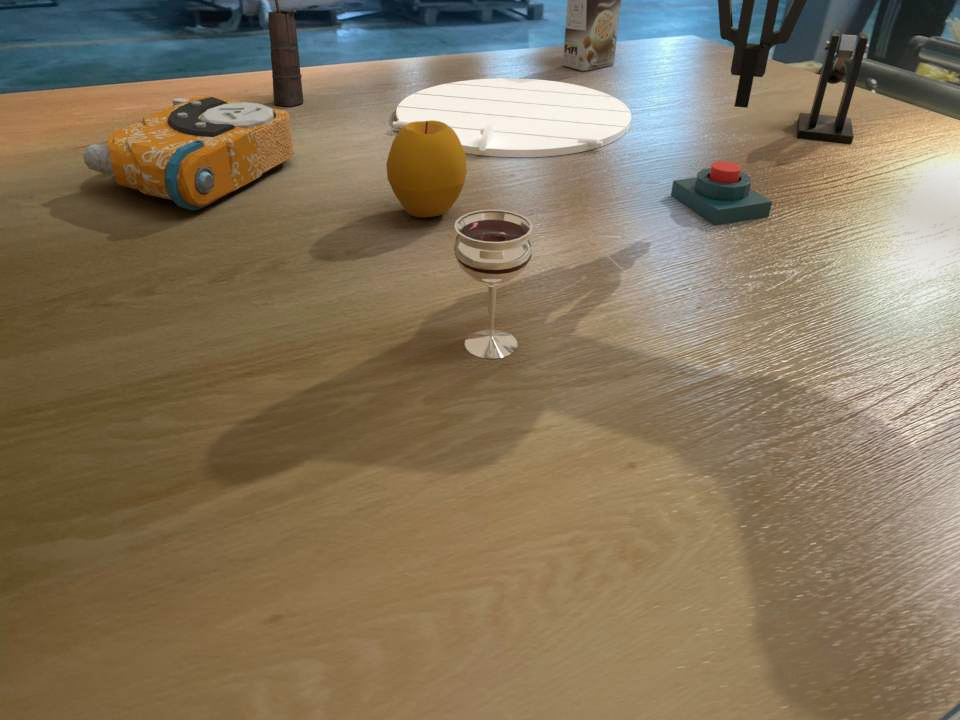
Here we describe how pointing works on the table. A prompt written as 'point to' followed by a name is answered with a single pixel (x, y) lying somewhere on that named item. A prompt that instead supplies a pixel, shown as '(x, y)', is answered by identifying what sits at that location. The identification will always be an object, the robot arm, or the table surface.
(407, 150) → the apple
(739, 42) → the robot arm
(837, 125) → the bracket
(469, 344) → the wineglass
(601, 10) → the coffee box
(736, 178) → the button
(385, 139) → the table surface
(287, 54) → the butter churn
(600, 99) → the lazy susan
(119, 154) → the device
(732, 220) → the panel
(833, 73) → the lever
